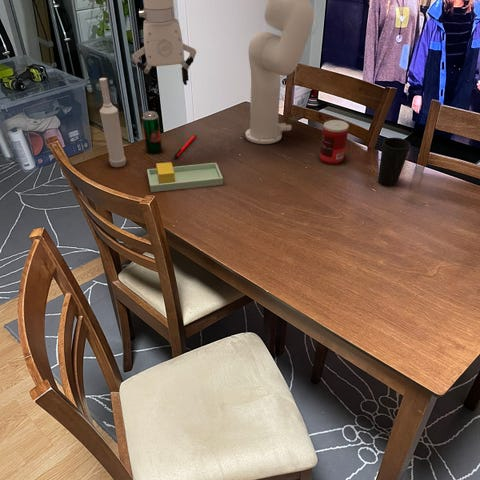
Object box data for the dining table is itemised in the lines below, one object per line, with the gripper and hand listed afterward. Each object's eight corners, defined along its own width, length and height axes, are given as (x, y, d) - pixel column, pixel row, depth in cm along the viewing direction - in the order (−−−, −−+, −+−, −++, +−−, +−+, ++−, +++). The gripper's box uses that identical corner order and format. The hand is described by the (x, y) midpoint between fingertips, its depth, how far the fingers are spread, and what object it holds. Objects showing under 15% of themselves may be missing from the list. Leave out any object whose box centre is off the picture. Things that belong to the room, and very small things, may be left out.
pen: (173, 159, 152) (172, 156, 152) (194, 135, 165) (194, 132, 165) (175, 160, 152) (175, 156, 151) (196, 136, 165) (196, 133, 165)
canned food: (344, 155, 156) (350, 121, 148) (341, 166, 150) (347, 131, 143) (321, 152, 157) (325, 118, 150) (317, 162, 152) (321, 128, 144)
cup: (381, 173, 147) (390, 135, 138) (404, 181, 143) (415, 142, 135) (369, 182, 143) (378, 143, 134) (393, 191, 139) (403, 151, 131)
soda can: (153, 155, 155) (148, 118, 146) (143, 150, 157) (138, 113, 149) (165, 150, 157) (161, 113, 149) (155, 146, 160) (150, 109, 151)
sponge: (172, 174, 144) (171, 161, 141) (175, 185, 139) (174, 172, 137) (157, 176, 144) (156, 163, 141) (160, 187, 139) (158, 174, 136)
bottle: (117, 169, 148) (102, 83, 130) (106, 164, 150) (89, 79, 133) (130, 163, 151) (116, 78, 133) (118, 158, 153) (103, 74, 136)
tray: (216, 168, 148) (216, 162, 147) (223, 184, 141) (222, 178, 140) (147, 175, 145) (147, 169, 143) (151, 192, 138) (150, 185, 136)
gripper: (127, 21, 118) (138, 93, 130) (195, 15, 121) (200, 86, 133) (124, 14, 123) (135, 83, 136) (190, 8, 126) (195, 77, 138)
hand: (168, 85), depth 134 cm, fingers open, 9 cm apart
